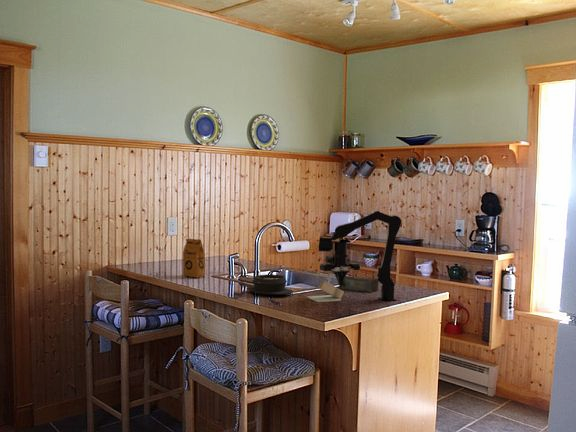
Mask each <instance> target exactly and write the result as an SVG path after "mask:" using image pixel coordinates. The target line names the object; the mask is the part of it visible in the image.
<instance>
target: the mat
mask: <svg viewBox="0 0 576 432" xmlns="http://www.w3.org/2000/svg"><path fill="white" fill-rule="evenodd" d="M306 298H307V299H310V300H312V301H314V302H316V303H326V302H327V303H329V302H342V299H338V298H336V297H334V296H332V295H330V294H328V295H327V294H326V295H312V296H307V297H306Z"/></svg>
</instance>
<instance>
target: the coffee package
mask: <svg viewBox="0 0 576 432" xmlns="http://www.w3.org/2000/svg"><path fill="white" fill-rule="evenodd" d="M205 254H206V253H205V250H204V247H203V242H202V240H201V239H194V238H185V244H184V248H183V251H182V277H187V276H190V277H189V278H192V277H202V276H205V277H206V255H205Z"/></svg>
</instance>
